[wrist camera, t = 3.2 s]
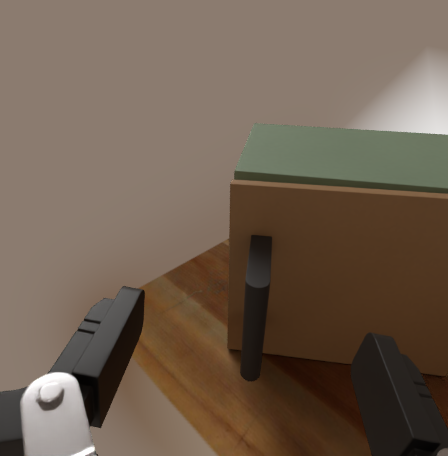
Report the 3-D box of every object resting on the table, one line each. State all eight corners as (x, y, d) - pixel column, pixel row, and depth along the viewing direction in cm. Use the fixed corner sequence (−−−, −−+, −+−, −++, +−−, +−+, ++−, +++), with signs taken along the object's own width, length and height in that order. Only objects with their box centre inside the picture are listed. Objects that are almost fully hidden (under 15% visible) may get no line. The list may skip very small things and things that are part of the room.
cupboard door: (475, 443, 26) (635, 263, 16) (218, 405, 28) (217, 228, 18) (441, 368, 31) (545, 199, 21) (228, 342, 34) (231, 179, 24)
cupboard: (440, 367, 32) (544, 196, 22) (230, 333, 35) (234, 170, 25) (405, 278, 42) (463, 135, 32) (246, 258, 46) (254, 123, 35)
